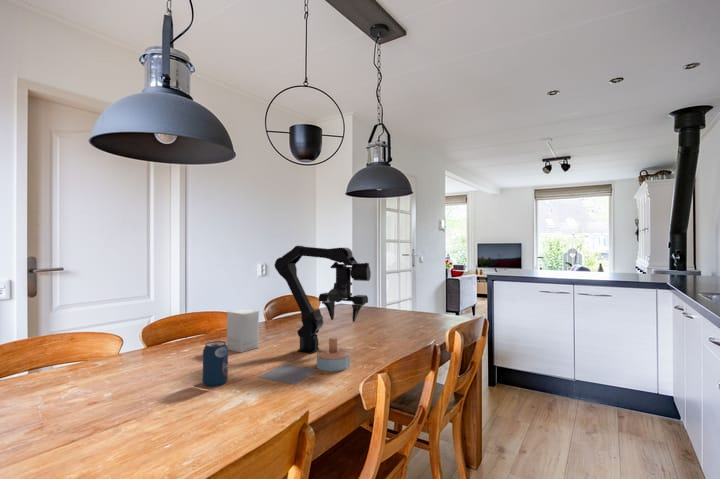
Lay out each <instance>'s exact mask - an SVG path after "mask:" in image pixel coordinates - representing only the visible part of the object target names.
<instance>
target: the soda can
mask: <svg viewBox="0 0 720 479" xmlns="http://www.w3.org/2000/svg"><path fill="white" fill-rule="evenodd" d="M228 371H229V350H228V347H227V341H223V340H217V341H215V340H214V341H209V342H205V345H204V348H203V350H202V384H203V385H204V386H206V387H219V386H223V385H224V384H226V383H227V381H228V379H229V378H228V376H229V374H228V373H229V372H228Z"/></svg>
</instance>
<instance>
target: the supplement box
mask: <svg viewBox="0 0 720 479" xmlns="http://www.w3.org/2000/svg"><path fill="white" fill-rule="evenodd" d="M259 313H260V311H259V310H256V309H255V310H254V309H248V308H247V309H246V308H242V309H236V310H231V311H230V310H229V311H226V345H227V347H228V351H232V352H237V353H245V352H247V351H251V350H255V349H258V348H259V340H260V339H259V338H260V337H259V336H260V335H259V334H260V332H259V329H260V326H259V325H260V324H259V320H260V319H259V318H260V314H259Z"/></svg>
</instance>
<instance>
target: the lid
mask: <svg viewBox="0 0 720 479" xmlns="http://www.w3.org/2000/svg"><path fill="white" fill-rule="evenodd" d="M349 355H350V350H348V349H346V348H344V347H338V338H337V337H329V339H328V347H325V348H321V349H320V348H319V350H317V351H316V358H317V357H319V358H321V359H326V360H339V359H344V358H347V357H348V356H349Z"/></svg>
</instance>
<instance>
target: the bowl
mask: <svg viewBox="0 0 720 479" xmlns="http://www.w3.org/2000/svg"><path fill="white" fill-rule="evenodd" d="M350 359H351V356H350V354H349V356H348V357H347V358H344V359H339V360H326V359H321V358H319V357H317V356H316V368H317V369H318V370H321V371H325V372H339V371H345V370H347V369H348V368H350V362H351V361H350Z"/></svg>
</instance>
